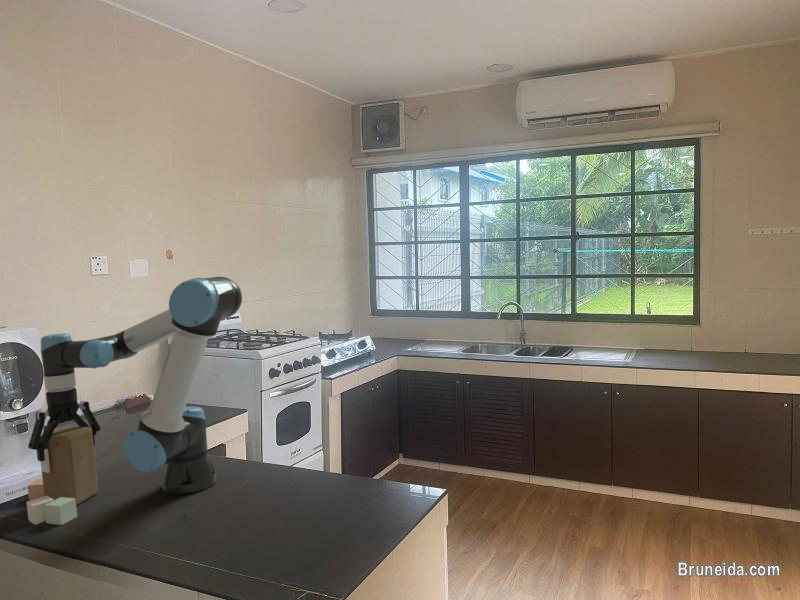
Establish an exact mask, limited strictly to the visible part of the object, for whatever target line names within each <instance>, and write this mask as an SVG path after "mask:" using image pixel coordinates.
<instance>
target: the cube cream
mask: <svg viewBox="0 0 800 600" xmlns="http://www.w3.org/2000/svg"><path fill="white" fill-rule="evenodd" d="M52 501H54V499H52V498H50V497H49V496H44V497H41V498H37V499H34V500H31V501H29V500H28V501H26V509H27V520H28V521H29V522H30V523H32V524H33V525H39V524H41V523H44V522H46V514H45V505H46V504H48V503H50V502H52Z"/></svg>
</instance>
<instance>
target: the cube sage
mask: <svg viewBox="0 0 800 600" xmlns="http://www.w3.org/2000/svg"><path fill="white" fill-rule="evenodd" d="M45 514H46V521H45V522H46V524H49V525H58V526H59V525H60V526H61V525H64V524H66V523H68V522H70V521H72V520H74V519H75V518H77V517H78V510H77V505H76V499H75V498H64V497H60V498H58V499H56V500H54V501H52V502H50V503H48V504H46V505H45Z"/></svg>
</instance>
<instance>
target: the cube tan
mask: <svg viewBox="0 0 800 600" xmlns="http://www.w3.org/2000/svg"><path fill="white" fill-rule="evenodd" d="M27 493H28V495H27V496H28V501H31V500H34V499H37V498H41V497H44V488H43V478H37V479H36V480H34V481H33V482H31V483H29V484H27Z"/></svg>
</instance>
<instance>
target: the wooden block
mask: <svg viewBox="0 0 800 600" xmlns="http://www.w3.org/2000/svg"><path fill="white" fill-rule="evenodd" d="M90 427H91V426H90ZM90 427H79V426H62V427H60V428H58V429H54V431H53V433H52V435H51V437H50V439H49V441H48V442H47V444H46V446H45V448H46V449H48V456H49V466H50V472H49V473H46V472H42V471H41V475H42V478H41V479H43V488H44V496H49V497H50V498H52V499H54V500H56V499H58V498H60V497H64V498H75V499H76V506H78V505H80V504H81V503H83V502H84V501H87V500H88V499H90V498H92V497H94V496H95V495H96V494H98V492H99V486H98V477H97V476H98V475H97V466H96V456H95V447H94V446H95V445H93V435H92V429H91V428H90ZM40 467H41V470H42V465H41V464H40Z"/></svg>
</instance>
